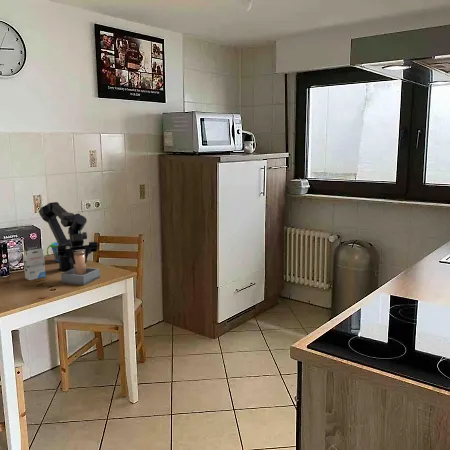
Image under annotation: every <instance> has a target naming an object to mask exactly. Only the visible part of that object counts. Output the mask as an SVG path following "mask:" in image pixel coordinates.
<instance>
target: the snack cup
mask: <svg viewBox="0 0 450 450" xmlns="http://www.w3.org/2000/svg"><path fill="white" fill-rule="evenodd" d="M57 246H58V243H57V241H55V242H51V244H49V245H48V246H47V248H46V255H47V257H49V251H48V250H49V248H51V250H52V253H53V257H54V260H55V262H57V263H59V259H56V256H55V254H56V252H57Z"/></svg>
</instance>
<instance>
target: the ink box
mask: <svg viewBox="0 0 450 450" xmlns="http://www.w3.org/2000/svg"><path fill="white" fill-rule="evenodd" d="M44 255H45V254H44V249H43V247H41V248H36V249H31V250H26V254H25V255H22V260H23V269H24V278H25V280H28V281H32V280H37V279H41V278H45V277H46V266H45V256H44Z"/></svg>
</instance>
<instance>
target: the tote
mask: <svg viewBox="0 0 450 450" xmlns="http://www.w3.org/2000/svg"><path fill="white" fill-rule="evenodd" d="M60 277H61V278H60V279H61V283H62V284H69V285H76V286H77V285H79V286H80V285H81V286H85V285H87V284H89V283H92V282H95V281H96V280H98V279H100V278H101V271H100V268H95V267H86V274H85V275H75V268H74V269H71V270H69V271H64V272H63V273H60Z"/></svg>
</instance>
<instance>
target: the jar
mask: <svg viewBox="0 0 450 450" xmlns="http://www.w3.org/2000/svg"><path fill="white" fill-rule="evenodd" d="M73 253H74V260H75V264H74V267H75V275H85V274H86V268H87V267H86V266H87V262H86V263H85V250H76V251H74V252H73Z"/></svg>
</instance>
